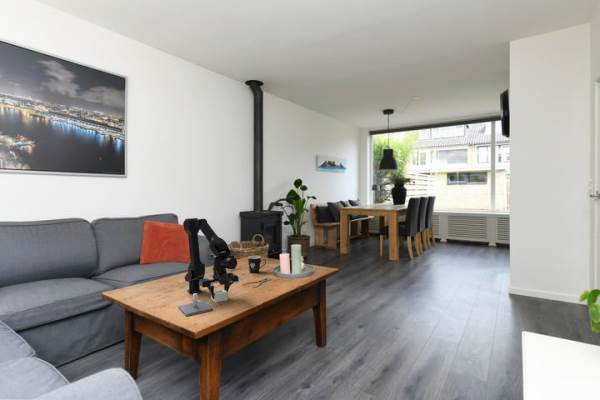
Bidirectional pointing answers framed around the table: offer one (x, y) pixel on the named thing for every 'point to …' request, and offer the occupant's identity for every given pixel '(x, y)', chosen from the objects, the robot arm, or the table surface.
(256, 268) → the coffee mug
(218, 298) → the hollow square sleeve
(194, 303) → the post stand
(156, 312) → the table surface
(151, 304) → the table surface
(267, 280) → the pliers
